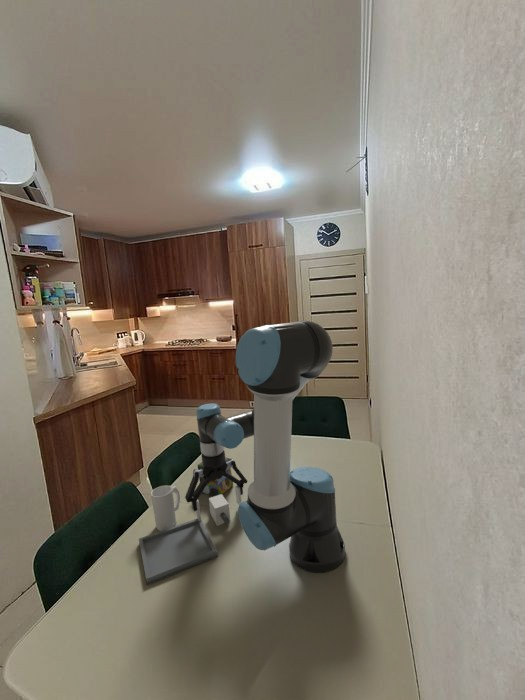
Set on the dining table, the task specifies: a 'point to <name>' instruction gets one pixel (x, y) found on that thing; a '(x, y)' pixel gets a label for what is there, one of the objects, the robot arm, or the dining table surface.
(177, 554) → the tray
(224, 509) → the connector
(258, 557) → the dining table surface
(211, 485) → the chalk box
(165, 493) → the mug
